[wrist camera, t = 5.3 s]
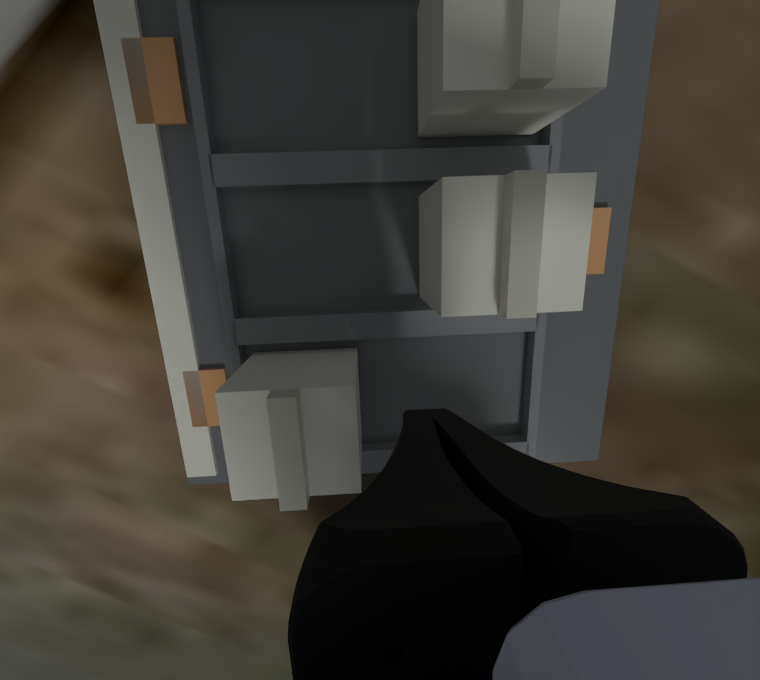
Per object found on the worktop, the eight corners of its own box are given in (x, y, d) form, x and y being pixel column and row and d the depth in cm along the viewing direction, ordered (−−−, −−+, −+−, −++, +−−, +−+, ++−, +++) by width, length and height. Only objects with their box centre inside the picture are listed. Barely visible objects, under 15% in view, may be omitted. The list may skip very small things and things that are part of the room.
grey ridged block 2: (532, 134, 13) (623, 76, 8) (418, 137, 13) (448, 79, 8) (539, 11, 12) (648, -131, 7) (417, 12, 12) (450, -130, 7)
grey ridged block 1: (361, 429, 15) (361, 506, 11) (265, 435, 15) (225, 514, 11) (357, 347, 14) (355, 394, 10) (254, 352, 14) (205, 401, 10)
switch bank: (582, 445, 18) (606, 467, 16) (201, 468, 17) (182, 494, 15) (640, -44, 13) (685, -90, 11) (106, -40, 12) (63, -88, 10)
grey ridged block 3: (522, 292, 14) (595, 314, 10) (419, 296, 14) (445, 321, 10) (528, 192, 13) (612, 167, 9) (418, 196, 13) (447, 172, 9)
